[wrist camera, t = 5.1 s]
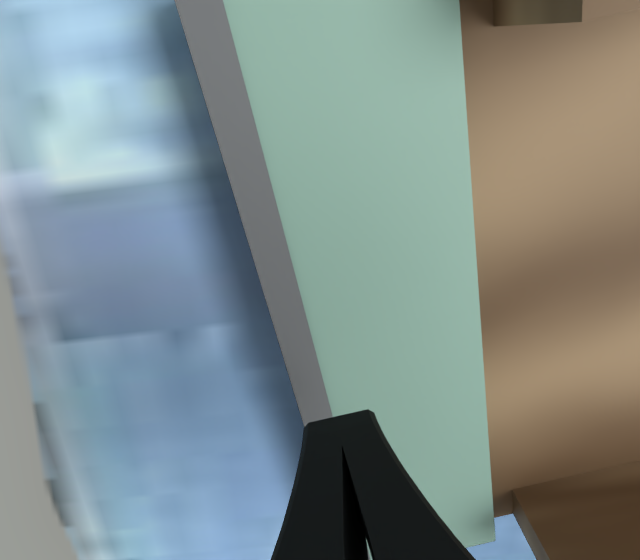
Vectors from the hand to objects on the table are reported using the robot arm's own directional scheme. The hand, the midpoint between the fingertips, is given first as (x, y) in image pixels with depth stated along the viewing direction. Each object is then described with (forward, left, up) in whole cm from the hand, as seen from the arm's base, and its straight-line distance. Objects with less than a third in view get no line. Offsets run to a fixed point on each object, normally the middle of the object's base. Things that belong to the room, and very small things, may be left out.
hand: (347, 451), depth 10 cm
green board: (0, -4, -3) cm, 5 cm away
